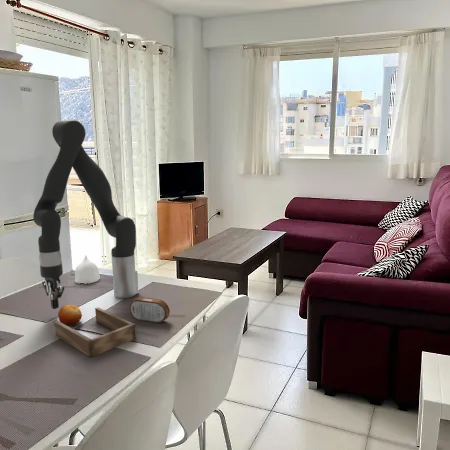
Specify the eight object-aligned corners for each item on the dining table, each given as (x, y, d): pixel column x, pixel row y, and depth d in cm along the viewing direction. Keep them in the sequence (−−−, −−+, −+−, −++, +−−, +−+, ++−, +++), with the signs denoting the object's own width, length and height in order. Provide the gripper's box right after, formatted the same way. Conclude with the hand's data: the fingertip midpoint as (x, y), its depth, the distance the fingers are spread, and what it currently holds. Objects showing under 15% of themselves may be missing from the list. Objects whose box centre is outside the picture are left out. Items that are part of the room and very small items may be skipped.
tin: (170, 321, 154) (169, 299, 152) (166, 325, 151) (165, 302, 150) (133, 316, 159) (132, 294, 157) (128, 320, 156) (127, 297, 154)
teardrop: (89, 274, 209) (88, 250, 207) (104, 278, 203) (103, 254, 200) (70, 281, 200) (67, 256, 198) (85, 285, 194) (83, 259, 191)
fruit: (56, 316, 156) (67, 297, 155) (77, 326, 158) (87, 307, 157) (50, 325, 148) (60, 306, 147) (71, 335, 150) (81, 316, 149)
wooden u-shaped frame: (99, 320, 156) (98, 307, 155) (136, 338, 141) (135, 324, 140) (55, 335, 144) (54, 321, 143) (90, 357, 129) (89, 341, 128)
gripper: (69, 263, 155) (73, 309, 158) (52, 257, 163) (56, 300, 167) (49, 268, 149) (53, 315, 153) (32, 261, 158) (36, 306, 161)
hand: (55, 307), depth 160 cm, fingers closed
